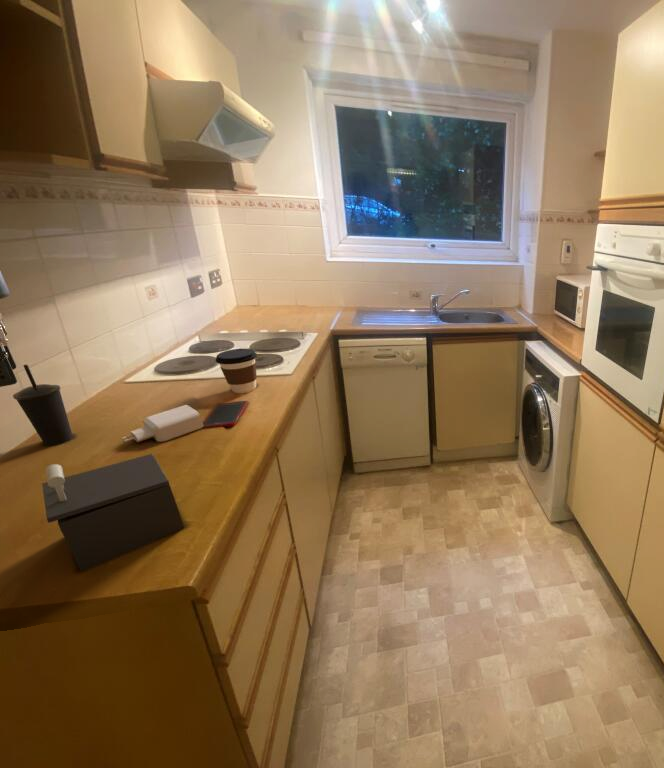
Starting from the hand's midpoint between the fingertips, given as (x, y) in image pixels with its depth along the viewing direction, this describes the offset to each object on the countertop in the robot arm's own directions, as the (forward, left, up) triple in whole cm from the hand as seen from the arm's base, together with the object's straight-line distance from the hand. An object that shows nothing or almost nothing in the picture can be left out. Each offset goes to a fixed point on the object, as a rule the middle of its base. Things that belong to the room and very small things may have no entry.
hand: (6, 377), depth 64 cm
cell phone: (+32, +34, -30) cm, 56 cm away
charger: (+18, +33, -30) cm, 48 cm away
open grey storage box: (+6, -5, -30) cm, 31 cm away
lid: (+6, -5, -20) cm, 21 cm away
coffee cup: (+42, +51, -30) cm, 73 cm away
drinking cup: (0, +47, -30) cm, 56 cm away
